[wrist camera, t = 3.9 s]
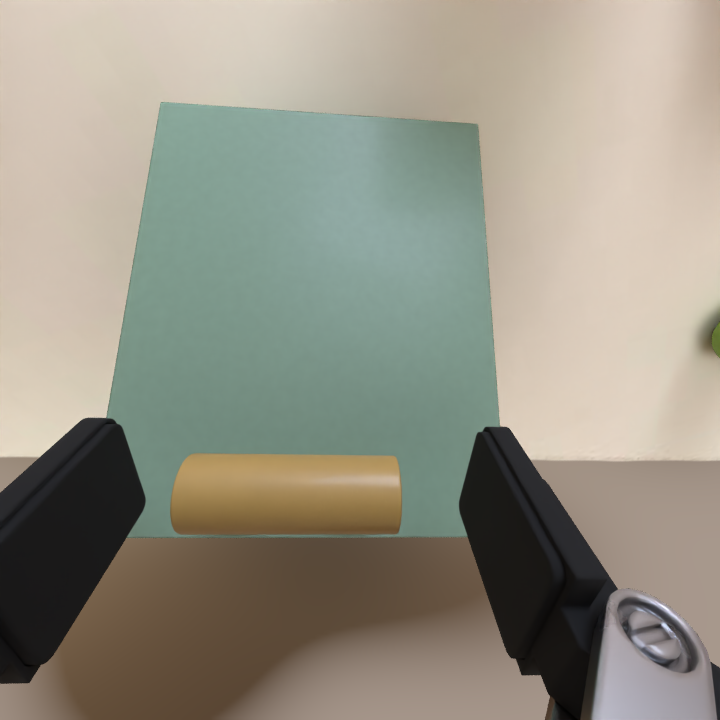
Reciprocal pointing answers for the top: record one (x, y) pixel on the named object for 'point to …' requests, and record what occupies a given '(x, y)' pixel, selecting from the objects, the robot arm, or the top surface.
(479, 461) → the robot arm
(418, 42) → the top surface
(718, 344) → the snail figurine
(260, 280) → the lid
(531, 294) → the top surface
